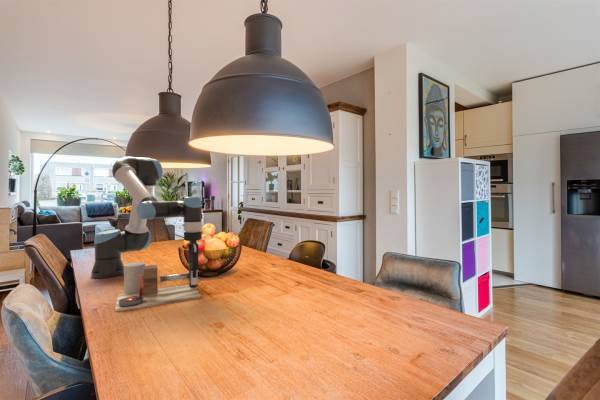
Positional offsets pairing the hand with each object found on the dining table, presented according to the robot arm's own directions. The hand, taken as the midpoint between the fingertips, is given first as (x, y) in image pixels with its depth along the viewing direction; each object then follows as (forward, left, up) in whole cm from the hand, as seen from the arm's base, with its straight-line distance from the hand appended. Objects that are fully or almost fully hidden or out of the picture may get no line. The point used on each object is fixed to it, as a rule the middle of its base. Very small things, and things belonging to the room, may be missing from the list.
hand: (193, 283), depth 136 cm
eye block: (+5, -14, -3) cm, 15 cm away
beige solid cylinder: (-9, -23, -3) cm, 25 cm away
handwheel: (+10, -24, -1) cm, 26 cm away
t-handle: (0, -6, -1) cm, 6 cm away
